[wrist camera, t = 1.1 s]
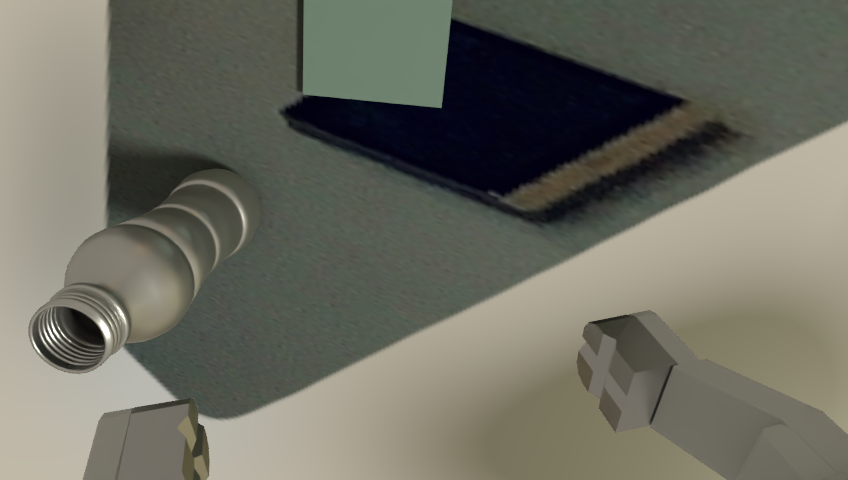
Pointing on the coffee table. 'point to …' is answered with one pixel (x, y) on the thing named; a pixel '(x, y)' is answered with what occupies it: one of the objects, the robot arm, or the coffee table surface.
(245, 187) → the plastic bottle
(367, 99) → the mat
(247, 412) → the coffee table surface
